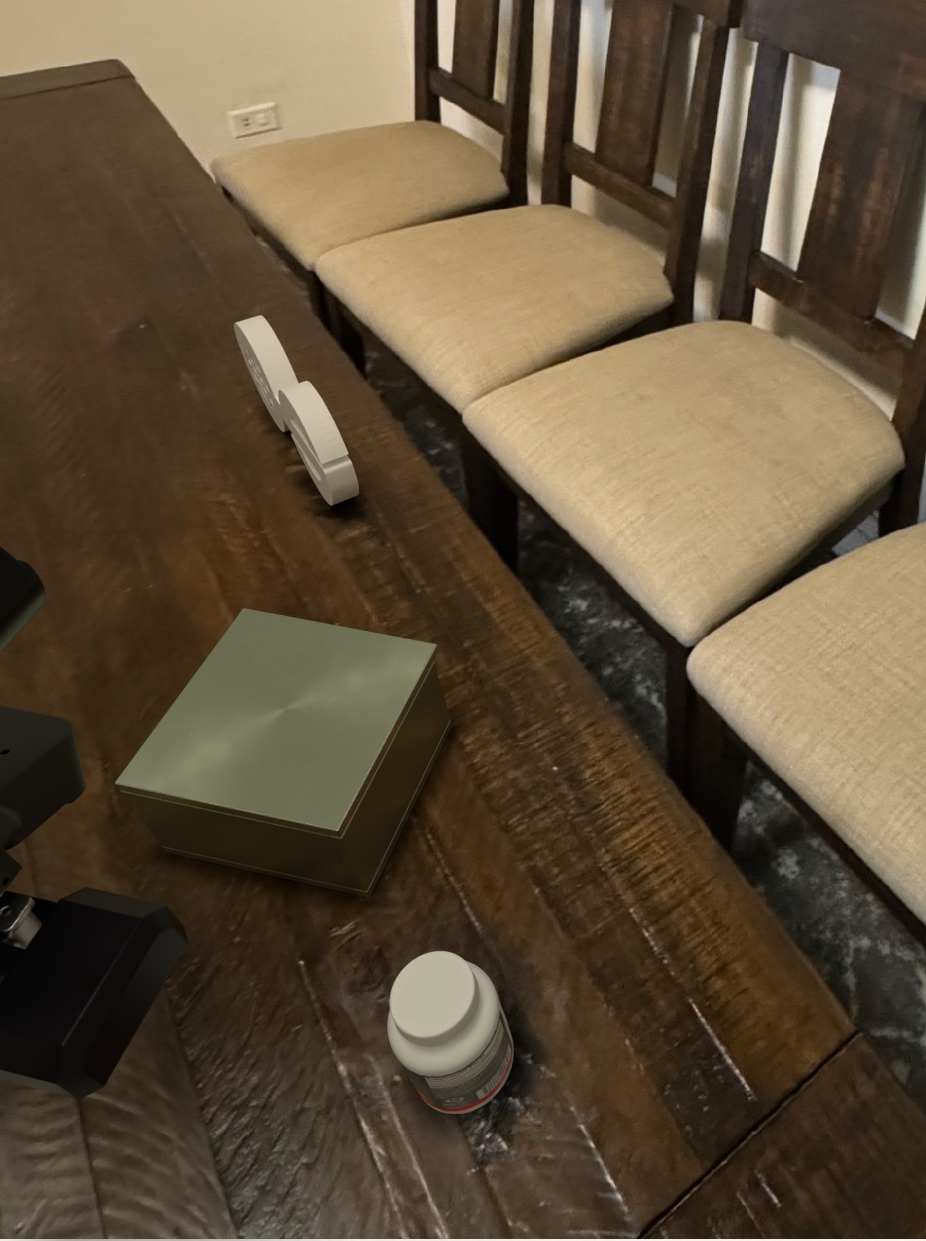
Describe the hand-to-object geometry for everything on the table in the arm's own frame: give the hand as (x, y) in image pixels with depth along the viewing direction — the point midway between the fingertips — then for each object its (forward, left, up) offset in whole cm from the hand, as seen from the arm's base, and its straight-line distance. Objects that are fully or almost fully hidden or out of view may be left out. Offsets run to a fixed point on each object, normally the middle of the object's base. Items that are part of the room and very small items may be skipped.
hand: (16, 1024), depth 43 cm
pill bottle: (+12, -12, -13) cm, 21 cm away
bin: (+18, +8, -13) cm, 24 cm away
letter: (+39, +36, -13) cm, 55 cm away
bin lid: (+18, +8, -6) cm, 21 cm away
